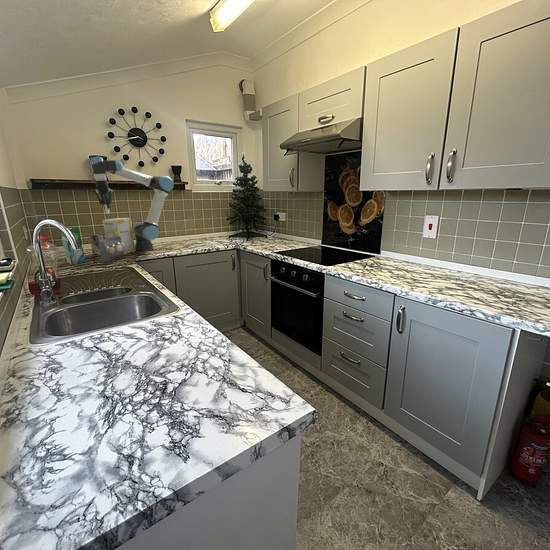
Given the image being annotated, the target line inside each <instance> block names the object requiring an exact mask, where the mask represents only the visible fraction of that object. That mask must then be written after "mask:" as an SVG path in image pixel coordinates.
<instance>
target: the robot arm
mask: <svg viewBox="0 0 550 550" xmlns="http://www.w3.org/2000/svg"><path fill="white" fill-rule="evenodd" d="M90 163H91V164H90V165H91V167H92V168H91V169H92V171H93V176H94V180H95V186H96V189H95V190H93V193H94V194H95V195H96V198H97V199H98V202H99V204H100V205H103V206H102V207H103V209H104V210H105V214H106V215H108V214H110V209H111V206H110V204H112V203H113V202H112V201H113V192H114V190H113V189H111V188H110V187H109V183H108V181H107V174H108V173H109V174H112V175H114V176H117V177H121V178H124V179H127V180H130V181H134V182H136V183H139V184H142V185H145V186H146V187H147V188H150V189H153V191H154V195H153V198H152V201H151V205H150V208H149V211H148V214H147V217H146V220H144V221H143V222H141V223H139V222H138V223H134V224H133V234H134V240H135V250H136V252H138V251H142V252H149V251H148V250H150V251H153V250H154V249H155V248H154V245H153V243H152V240H156V239H157V238H158V236H159V232H160V231H159V224H158V222H159V219H160V216H161V213H162V210H163V207H164V204H165V201H166V197H168V196H169V194H170V192H171V191H172V190H173V188H174V181H173V179H172V178H171V177H169V176H168V175H161V176H154V175H150V174H148V175H147V174H144V173H140V172H138V171H134V170H132V169H130V168H126V167H124V166H123V163H122V162H121V161H120V160H112V159H111V160H107V159H106V160H104V159H103V157H100V156H93V157H91V158H90ZM106 173H107V174H106ZM152 249H153V250H152Z"/></svg>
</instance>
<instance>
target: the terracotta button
mask: <svg viewBox="0 0 550 550" xmlns="http://www.w3.org/2000/svg"><path fill="white" fill-rule="evenodd" d="M107 252H108V253H109V254H113V253H115V249H114V247H108V249H107Z"/></svg>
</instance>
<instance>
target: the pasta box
mask: <svg viewBox="0 0 550 550" xmlns="http://www.w3.org/2000/svg"><path fill="white" fill-rule="evenodd" d="M102 225H103V230H104V238H105V240H106V239H109V238H112V237H115V236H121V242H122V243H124V244H125V249H123V254H125V255H128V254H127V253H129V254H131V253H130V252H132V253H134V252H133V251H136V250H135V244H136V242H135V236H134V229H133V225H132V218H131V217H117V218H109V219H103V220H102ZM136 252H137V251H136Z"/></svg>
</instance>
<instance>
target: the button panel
mask: <svg viewBox="0 0 550 550" xmlns="http://www.w3.org/2000/svg"><path fill="white" fill-rule="evenodd" d="M119 243H122V242H121V236H115V237H112V238H109V239H106V238H105V240H102V241H99V242H98V245H99V250H100V255H99V256H100V259H101V260H98V261H95V262H96V263H95V264H96V265H98V264H97V263H109V264H111V263H113V262H115V261H114V260H116V261H117V259H118V260H120V259H122V258H124V257H125V255H124V254H123V249H122V251H116V249H115V247H116V245H119ZM108 247H114V249H115V253H113V254H109V253H108V252H107V249H108ZM123 256H124V257H123ZM121 257H122V258H121ZM119 258H120V259H119ZM112 261H113V262H112ZM110 262H111V263H110Z"/></svg>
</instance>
